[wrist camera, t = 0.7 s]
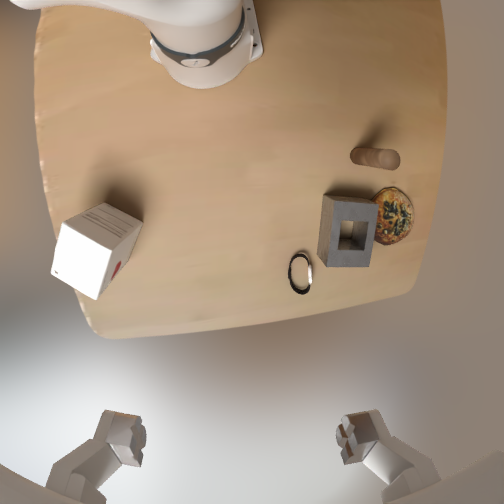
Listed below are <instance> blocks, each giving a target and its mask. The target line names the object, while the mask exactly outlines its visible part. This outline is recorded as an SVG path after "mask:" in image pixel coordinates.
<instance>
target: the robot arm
mask: <svg viewBox="0 0 504 504" xmlns="http://www.w3.org/2000/svg"><path fill="white" fill-rule="evenodd" d="M10 1H11V2H12V3H14V4H16V5H17V6H19V7H21V8H24V9H32V10H33V9H40V8H45V7H52V6H62V5H80V6H90V7H96V8H101V9H106V10H110V11H114V12H117V13H121V14H124V15H127V16H130V17H133V18H135V19H138V20H140V21H141V22H143V24H144V25H145V26H146V27H147V28H148V29H149V30H150V32H151V36H152V39H151V40H150V44H151V46H152V50H151V57H152V59H153V60H154V61H156V62H157V63H159V64H161V65H163V66H164V67H165V68H166V70H167V71H168V73H169V74H170V75H171V76H172V78H174V79H175V80H176V81H177V82H179V83H181V84H183V85H185V86H188V87H192V88H199V89H206V88H213V87H217V86H220V85H223V84H225V83H227V82H229V81H231V80H232V79H233V78H235V77H236V76H237V75H238V74H239V73H240V72H241V71H242V70H243V69H244V67H245V66H246V65H247V64H248V63H250V62H253V61H255V60H257V59H258V58H260V57H261V56H262V54H263V48H262V43H261V38H260V33H259V28H258V23H257V18H256V14H255V9H254V4H253V0H10ZM253 44H256V45H257V47H253ZM341 421H342V424H340V425H339V426H338V428H337V430H336V439H337V443H338V445H339V446H340V447H342V448H343V449H342V451H341V456H342V459H343V462H344V465H346V464H352V463H356V462H361V461H363V463H364V464H365V465H366V466H367V467H368V468H369V469H371V470H372V471H373V472H374V473H375V474H376V475H378V476H379V477H380V478H381V479H382V480H383V481H385V482H386V483H387V484H388V485H389V486H387V487H386V488H385V489H384V490H383V491H382V492H381V494H380V495H381V498H382V501H383V504H504V452H501V451H498V450H494V451H492V452H490V453H488V454H487V455H485V456H483V457H482V458H480V459H479V460H477V461H475V462H474V463H472V464H471V465H469V466H467V467H465V468H463V469H462V470H460V471H458V472H456V473H454V474H453V475H451V476H449V477H447V478H445V479H443V480H441V478H440V476H439V474H438V472H437V470H436V468H435V465H434V463H433V462H432V459H430V458H428V457H427V456H425V455H424V454H422V453H420V452H419V451H417V450H415V449H414V448H412V447H410V446H409V445H407V444H406V443H404V442H402V441H401V440H399V439H398V438H396V437H391V435H390V433H389V431H388V429H387V427H386V425H385V423H384V420H383V418H382V416H381V414H380V412H379V411H378V410H376V409H375V410H371V411H364V412H359V413H354V414H348V415H345V416H343V417H342V419H341ZM141 423H142V419H141V417H140V416H136V415H130V414H124V413H119V412H115V411H109V410H105V411H104V412H103V413H102V416H101V418H100V421H99V424H98V426H97V429H96V432H95V435H94V438H93V439H89V440H87V441H86V442H85V443H84V444H82V445H81V446H79V447H78V448H76V449H75V450H73V451H72V452H71V453H69V454H68V455H66V456H65V457H63V458H62V459H60V460H59V461H57V462H56V463H54V464H53V467H52V469H51V472H50V475H49V478H48V480H47V483H46V487H43V486H40V485H38V484H36V483H34V482H32V481H30V480H28V479H26V478H24V477H22V476H20V475H18V474H17V473H15V472H13V471H11V470H9V469H8V468H6V467H5V466H3V465H1V464H0V504H106V498H105V496H104V495H102V494H101V493H100V492H99V491H98V490H97V489H98V488H99V486H101V485H102V484H103V483H104V482H105V481H106V480H107V479H108V478H109V477H110V476H111V475H112V474H113V473H114V472H115V471H116V470H117V469H118V468H119V467H120V466H121V465H122V464H125V465H130V466H136V467H141V463H142V459H143V453H142V451H141V449H142V448H144V447H145V444H146V430H145V427H144V426H143V425H141Z"/></svg>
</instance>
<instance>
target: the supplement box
mask: <svg viewBox="0 0 504 504" xmlns="http://www.w3.org/2000/svg"><path fill="white" fill-rule="evenodd" d="M142 225H143V222H141V221H140V220H138V219H136V218H134V217H132V216H130V215H128V214H126V213H124V212H122V211H120V210H118V209H116V208H114V207H112V206H110V205H109V204H107V203H105V202H104V203H102V204H100V205H97V206H95V207H93V208H91V209H89V210H87V211H84V212H82V213H80V214H78V215H76V216H74V217H72V218H70V219H68V220H66V221H64V222H62V225H61V229H60V233H59V237H58V241H57V245H56V248H55V254H54V259H53V264H52V269H51V274H52V275H54V276H56V277H58V278H59V279H61V280H62V281H64V282H66V283H67V284H69V285H71V286H72V287H74V288H76V289H77V290H79V291H80V292H82V293H84V294H85V295H87V296H89V297H91V298H93V299H95V300H97V299H98V298H99V296H100V295H101V294H102V293H103V291H104V290H105V289H106V288H107V286H108V285H109V284H110V283H111V281H112V280H113V279H114V278H115V276H116V275H117V274H118V273H119V272H120V270H121V269H122V268H123V267H124V266H125V265H126V263H127V262H128V260H129V257H130V255H131V252H132V250H133V247H134V244H135V242H136V240H137V237H138V235H139V232H140V230H141V227H142Z"/></svg>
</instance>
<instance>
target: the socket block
mask: <svg viewBox="0 0 504 504" xmlns="http://www.w3.org/2000/svg"><path fill="white" fill-rule="evenodd" d="M378 208H379V204H376V203H374V202H372V201H369V200H367V199H365V198H357V197H346V196H333V195H323V202H322V212H321V222H320V232H319V241H318V249H317V255H318V256H319V258H320V259H321V260H322V262H323V263H324V264H325V266H326V267H369V264H370V258H371V253H372V247H373V241H374V235H375V229H376V222H377V215H378ZM341 220H347V221H354V224H353V231H352V238H351V240H345V239H339V235H340V227H341Z"/></svg>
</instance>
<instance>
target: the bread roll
mask: <svg viewBox="0 0 504 504" xmlns="http://www.w3.org/2000/svg"><path fill="white" fill-rule="evenodd" d="M371 201H372V202H374V203H376V204H379V208H378V215H377V222H376V229H375V235H374V240H375V241H377V242H378V243H381V244H383V245H391V244H394V243H396V242H398V241H400V240H402V239H403V238H405V237H406V236H407V235H408V234H409V233H410V231H411V229H412V227H413V223H414V211H413V207H412V205H411V203H410V201H409V200H408V198H407V197H406V196H404V194H402V193H401V192H399V191H398V190H397V189H395V188H389V189H383V190H382V191H381V192H380V193H378V194H377V195H376V196H375V197H374V198H373V200H371Z"/></svg>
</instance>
